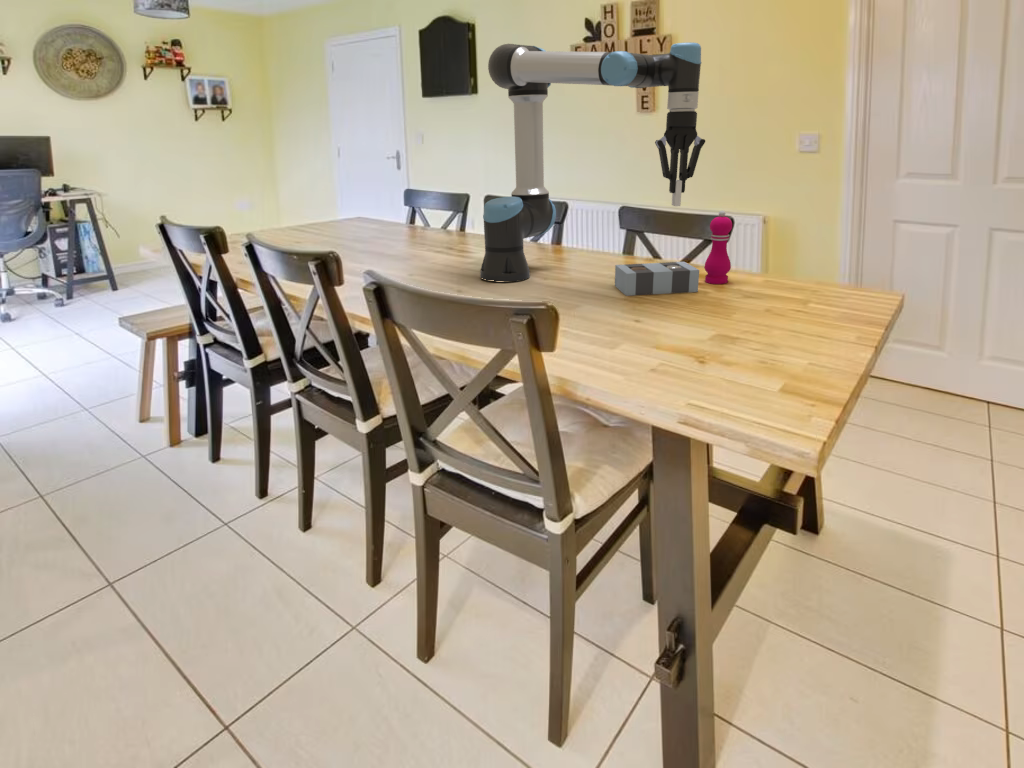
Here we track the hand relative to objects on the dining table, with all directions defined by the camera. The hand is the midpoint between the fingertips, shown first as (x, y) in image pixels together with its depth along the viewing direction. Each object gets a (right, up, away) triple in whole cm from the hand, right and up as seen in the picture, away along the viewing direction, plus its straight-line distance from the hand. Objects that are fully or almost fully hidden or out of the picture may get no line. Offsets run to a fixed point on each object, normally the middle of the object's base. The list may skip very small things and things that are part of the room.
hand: (676, 205), depth 180 cm
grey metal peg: (+1, -21, +8) cm, 22 cm away
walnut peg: (-9, -22, +7) cm, 24 cm away
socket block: (-4, -21, +7) cm, 23 cm away
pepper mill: (+15, -19, +13) cm, 27 cm away
